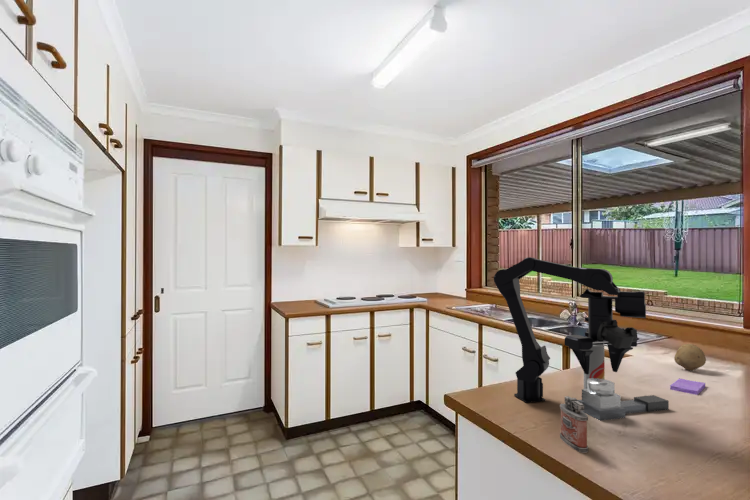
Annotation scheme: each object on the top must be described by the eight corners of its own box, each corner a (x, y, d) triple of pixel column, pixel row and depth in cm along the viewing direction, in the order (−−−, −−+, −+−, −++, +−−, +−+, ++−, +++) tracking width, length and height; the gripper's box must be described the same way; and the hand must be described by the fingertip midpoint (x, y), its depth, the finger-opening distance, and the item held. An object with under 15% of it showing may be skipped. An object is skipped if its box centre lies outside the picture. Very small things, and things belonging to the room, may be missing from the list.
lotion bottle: (607, 396, 118) (607, 330, 118) (587, 395, 119) (586, 329, 119) (600, 390, 123) (600, 327, 124) (581, 389, 124) (580, 326, 125)
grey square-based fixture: (600, 409, 101) (600, 386, 101) (581, 400, 107) (581, 379, 107) (620, 407, 102) (620, 384, 103) (601, 399, 109) (600, 377, 109)
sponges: (669, 390, 125) (669, 385, 125) (679, 382, 133) (679, 377, 133) (697, 396, 120) (697, 390, 120) (705, 388, 128) (705, 382, 128)
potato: (713, 374, 141) (713, 347, 141) (688, 374, 141) (688, 346, 142) (693, 367, 150) (693, 341, 150) (670, 367, 150) (670, 341, 151)
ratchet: (599, 420, 100) (599, 401, 100) (576, 409, 108) (576, 391, 108) (675, 412, 106) (674, 394, 106) (648, 402, 114) (647, 384, 114)
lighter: (556, 435, 91) (556, 392, 91) (570, 435, 92) (569, 392, 92) (577, 452, 83) (576, 405, 83) (592, 452, 83) (591, 405, 84)
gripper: (595, 320, 95) (595, 384, 95) (655, 318, 100) (656, 379, 99) (562, 314, 106) (563, 372, 106) (618, 312, 111) (619, 367, 110)
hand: (600, 372), depth 105 cm, fingers open, 9 cm apart
